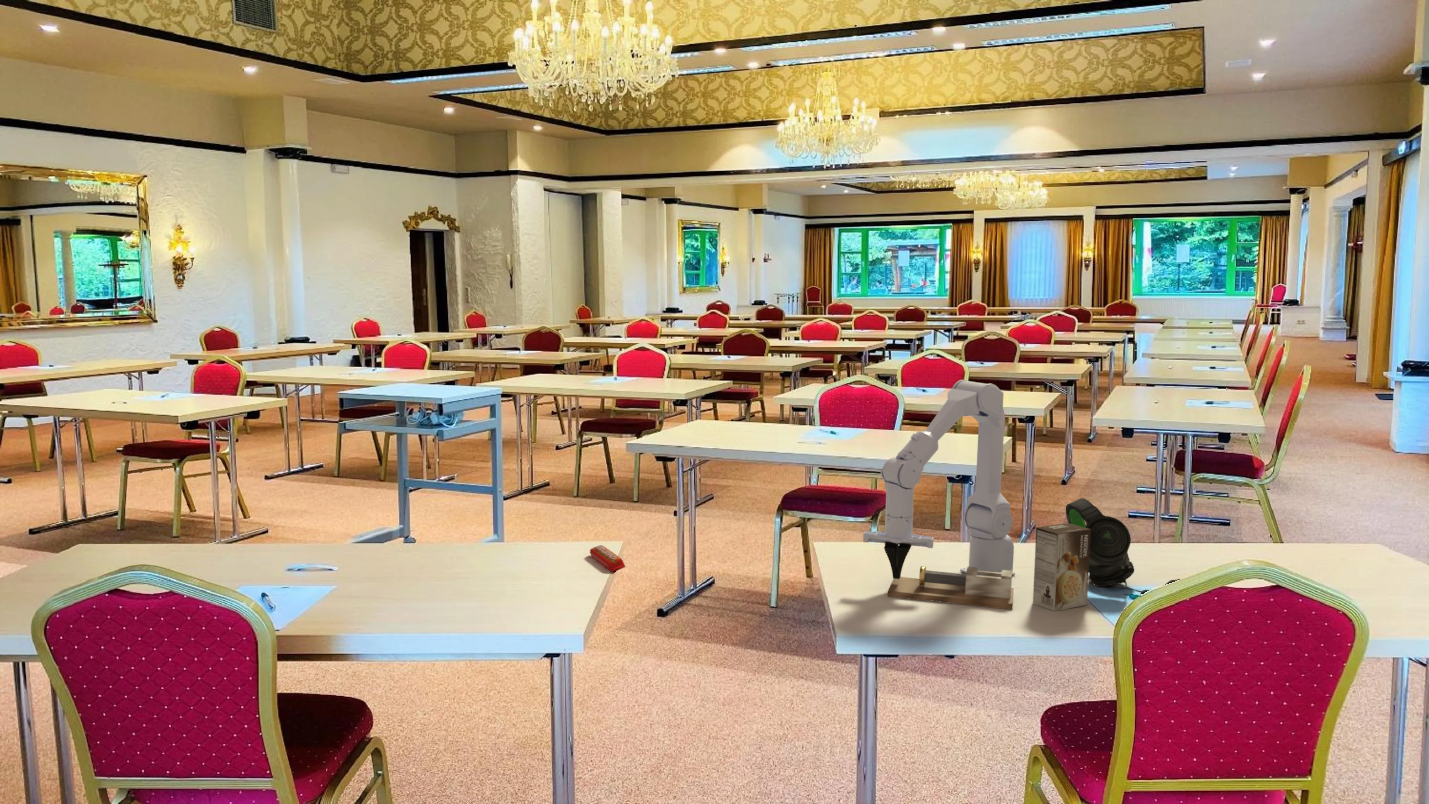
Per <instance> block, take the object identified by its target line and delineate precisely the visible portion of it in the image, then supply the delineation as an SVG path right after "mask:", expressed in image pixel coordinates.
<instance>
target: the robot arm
mask: <svg viewBox="0 0 1429 804" xmlns="http://www.w3.org/2000/svg"><path fill="white" fill-rule="evenodd" d="M1004 410H1005V409H1004V392H1003V391H1002V390H1001V389H1000V388H999V387H998V386H997V385H996V384H993V383H984V382H976V381H970V380H967V379H966V380H965V379H960V380H957V382H955V383H954V384H953V386H952V388H951V389H949V391H947V400H946V401H945V403H944V404H943V406H941V408H940V410H939V411H938V412H937V414H936V415H935V417H934V418H933V419H932V420H931V422H930V424H929V425H928V426H927V427H926V428H925V430H924V431H923V430H921V431H917V432H916V433H912V435H911V436H910V440H909V441H908V442H907V443H906V444H905V446H904V447H902V449H901V450H900V451H898V453H897V455H896V456H895V457H894V456H893V457H892V458H889V459H887V461H885V463H884V464H883V467H882V469H881V470H880V476H881V479H882V481H883V482H884V490H885V518H884V519H885V520H884V531H867V530H866V531H864V532H863V536H862V537H863V540H862V542H863V543H880V544H884V547H883V549H884V552H885V554H886V556H887V559H888V561H889V564H890V567H891V568H890V569H891V572H892V579H900V577H902V576H901V575H902V570H903V567H904V563H905V560H906V558H907V556H908V554H909V552H910V550H911V548H912V546H913V547H924V548H928V549H933V548H934V538H935V537H934V536H925V535H919V534H914V533H913V525H914V524H913V523H914V520H913V519H914V496H915V495H914V494H915V493H914V492H915V487H916V486H917V484H919V482H920V481H921V478H922V473H923V470H924V467H925V466H926V465H927V463H929V461H930V460H931V458H932V457H933V456H934V455H935V454H936V452H937V451H938V450H939V441H940V439H942V437H943V436H944V435H945V434H946V433H947V432H948V431H949V430H950V429H951V428H952V427H954V425H955V424H956V423H957V422H958V421H960V419H961V418H962V417H969V416H970V417H972V418H974V420H975V421H976V422H978V427H977V428H978V432H977V434H978V435H977V452H976V455H977V456H976V471H975V472H976V473H975V474H976V475H975V490H974V492H973V493H972V494H971V495H969V497H968V498H967V503H966V507H965V510H964V512H963V517H962V518H963V523H964V525H965V527H966V528H967V529H968V530H967V532H968V533H969V554H968V556H969V557H968V567H977V570H979V571H990V572H1000V573H1002V570H1009V571H1012V576H1015V575H1016V572H1014V571H1013V569H1014V552H1015V550H1014V549H1015V546H1014V543H1013V539H1012V538H1011V536H1010V535H1008V534H1009V532H1010V531H1011V529H1012V526H1013V516H1012V515H1011V504H1010V503H1009V501H1008V500H1007V499H1006V498H1005V497H1004V495H1003V494H1002V477H1003V475H1002V474H1003V459H1004V456H1003V454H1004V453H1003V452H1004V437H1005V419H1006V417H1005V411H1004ZM959 571H960V572H963V574H966V572H967V567H964V568H960V569H959Z"/></svg>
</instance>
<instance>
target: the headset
mask: <svg viewBox="0 0 1429 804" xmlns="http://www.w3.org/2000/svg"><path fill="white" fill-rule="evenodd" d="M1065 514H1066V515H1065V517H1066V520H1067V523H1069V524H1073V525H1077V526H1080V527H1084V528H1088V529H1091V532H1090V553H1089V572H1088V579H1089V580H1090V582H1091V584H1093V585H1094V584H1095V585H1094V586H1097V585H1098V586H1097V587H1108V586H1115V585H1118V584H1120V585H1121V584H1125V586H1124V588H1125V589H1128V590H1132V591H1135V592H1137V593H1140V594H1139V595H1140V596H1141V594H1144V593H1145V592H1147V591H1149V590H1150V589H1143V590H1138V589H1134V588H1131V587H1129V586H1128V583H1127V580H1128V579H1129V578H1130V577H1132V575H1133V574H1134V573H1135V568H1134V567H1135V566H1134V564H1133V561H1132V562H1131V561H1130V557H1129V553H1128V551H1129V549H1130V546H1131V539H1132V538H1131V533H1130V531H1129V529H1128V527H1127V526H1126V525H1125V524H1124V523H1123V522H1122V520H1121V521H1120V519H1118V518H1115V517H1112V516H1107V515H1104V514H1103V513H1102V512H1101V510H1099V508H1098V507H1097V505H1094V504H1093V503H1092V502H1091V501H1090V500H1089V499H1087V498H1085V497H1081V498H1079V499H1077V500H1073V501H1072V502H1070V503H1067V504H1066V505H1065ZM1177 580H1181V579H1180V578H1177V579H1170V580H1169V581H1167V582H1166V583H1165V584H1164V585H1166V584H1169V583H1172V582H1175V581H1177Z"/></svg>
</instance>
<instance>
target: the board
mask: <svg viewBox="0 0 1429 804" xmlns="http://www.w3.org/2000/svg"><path fill="white" fill-rule="evenodd" d="M966 568H967V572H966V573H965V574H966V586H958V585H948V584H938V583H928V582H925V586H922V585H919V578H914V577H907V576H905V577H904V576H901V577H900V579H894V578H892V581H891V584H890V586H889V588H888V589H887V597H890V598H891V597H892V598H899V599H907V598H910V599H909V600H917V599H919V600H918V601H926V600H933V601H932V602H936V601H941V602H940V603H945V602H950V603H949V604H955V603H956V604H957V605H966V606H976V607H983V608H984V607H985V608H994V609H995V608H996V609H1005V610H1013V608H1014V607H1013V604H1014V588H1015V587H1012V581H1013V580H1012V579H1013V575H1012V571H1009V570H1002V573H1000V572H990V571H979V570H977V567H969V566H967V567H966Z"/></svg>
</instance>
